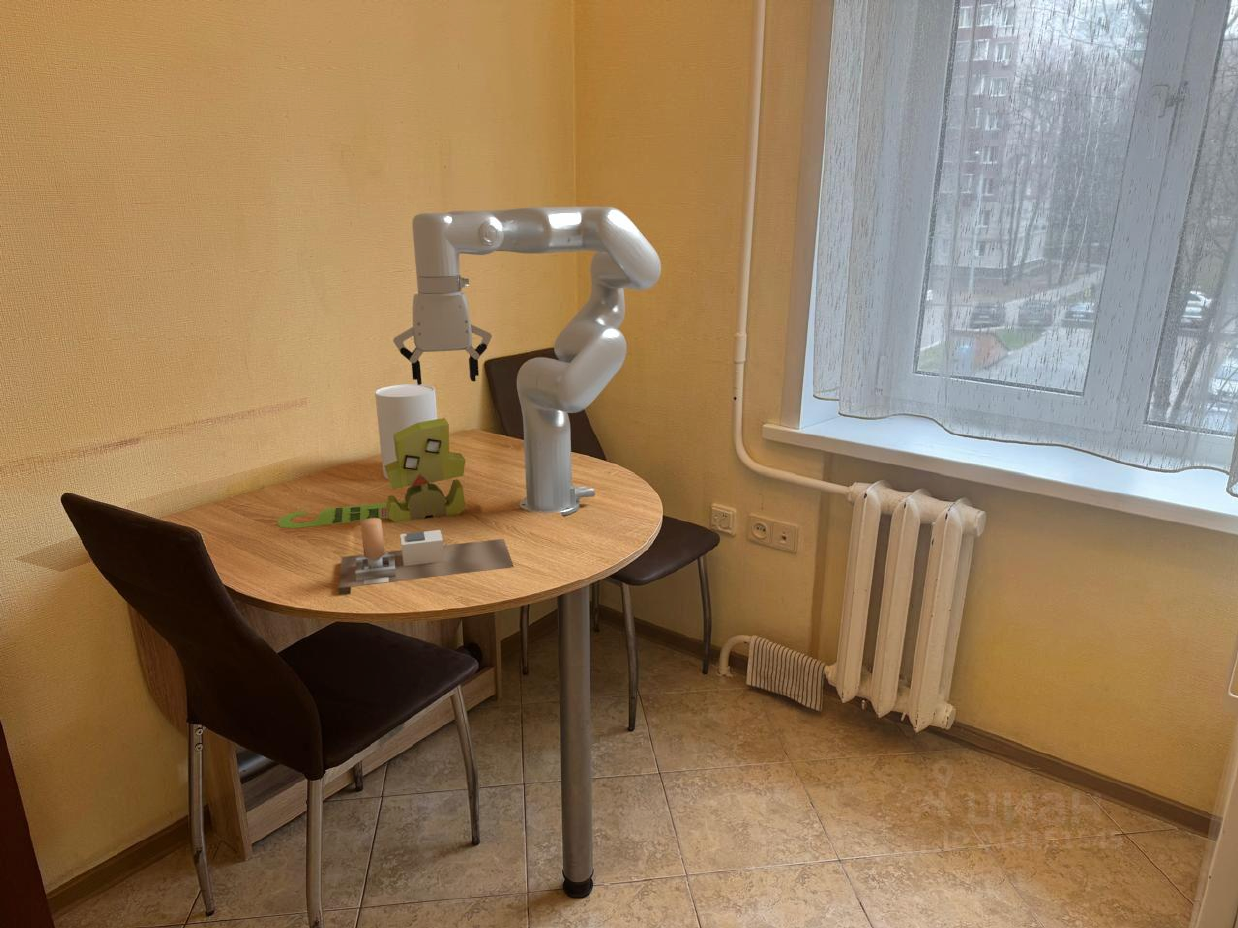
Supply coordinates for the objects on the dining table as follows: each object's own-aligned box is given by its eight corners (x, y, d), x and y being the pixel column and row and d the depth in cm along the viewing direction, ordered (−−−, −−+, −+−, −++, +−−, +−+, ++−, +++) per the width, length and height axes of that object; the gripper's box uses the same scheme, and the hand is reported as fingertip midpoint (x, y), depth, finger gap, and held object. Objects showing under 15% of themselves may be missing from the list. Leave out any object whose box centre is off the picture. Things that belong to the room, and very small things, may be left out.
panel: (503, 544, 156) (503, 531, 155) (514, 573, 144) (513, 558, 143) (342, 562, 148) (340, 549, 148) (339, 594, 136) (337, 579, 136)
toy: (389, 529, 164) (380, 431, 158) (387, 519, 169) (377, 424, 163) (469, 518, 169) (463, 423, 163) (464, 508, 174) (458, 416, 168)
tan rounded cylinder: (386, 565, 144) (381, 517, 141) (386, 573, 141) (381, 524, 138) (366, 567, 143) (360, 519, 141) (365, 575, 140) (360, 526, 137)
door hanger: (403, 502, 179) (280, 515, 172) (403, 500, 179) (279, 513, 172) (405, 518, 170) (275, 532, 164) (405, 515, 170) (275, 529, 163)
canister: (379, 467, 201) (371, 387, 195) (435, 460, 206) (429, 382, 200) (387, 484, 189) (379, 399, 183) (446, 476, 194) (440, 393, 188)
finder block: (441, 550, 150) (440, 527, 149) (444, 561, 146) (442, 538, 145) (402, 555, 149) (400, 532, 147) (403, 566, 144) (401, 542, 143)
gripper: (486, 282, 151) (491, 374, 156) (388, 286, 147) (397, 380, 152) (491, 286, 144) (496, 382, 150) (388, 290, 140) (397, 389, 145)
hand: (446, 381), depth 151 cm, fingers open, 9 cm apart
